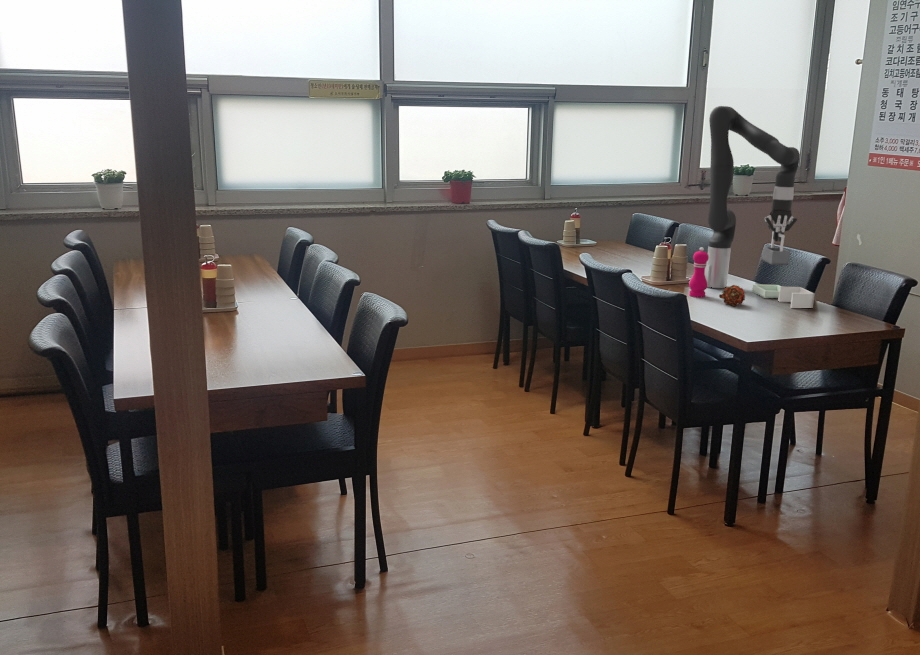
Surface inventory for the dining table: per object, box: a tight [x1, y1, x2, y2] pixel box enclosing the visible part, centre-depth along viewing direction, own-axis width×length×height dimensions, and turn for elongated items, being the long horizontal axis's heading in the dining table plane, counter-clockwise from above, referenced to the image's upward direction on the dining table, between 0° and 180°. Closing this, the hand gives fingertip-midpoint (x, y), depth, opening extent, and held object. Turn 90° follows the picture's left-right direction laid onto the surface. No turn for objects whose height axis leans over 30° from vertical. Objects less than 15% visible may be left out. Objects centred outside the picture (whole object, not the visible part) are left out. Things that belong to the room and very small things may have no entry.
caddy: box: [761, 231, 791, 266], centre depth 326 cm, size 7×10×12 cm
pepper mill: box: [688, 246, 709, 298], centre depth 324 cm, size 7×7×20 cm
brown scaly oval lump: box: [718, 284, 746, 307], centre depth 311 cm, size 8×8×12 cm
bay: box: [777, 286, 816, 309], centre depth 312 cm, size 8×13×6 cm, turn 1°
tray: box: [751, 284, 782, 300], centre depth 330 cm, size 11×14×3 cm
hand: (777, 241), depth 325 cm, fingers closed on caddy, 1 cm apart
